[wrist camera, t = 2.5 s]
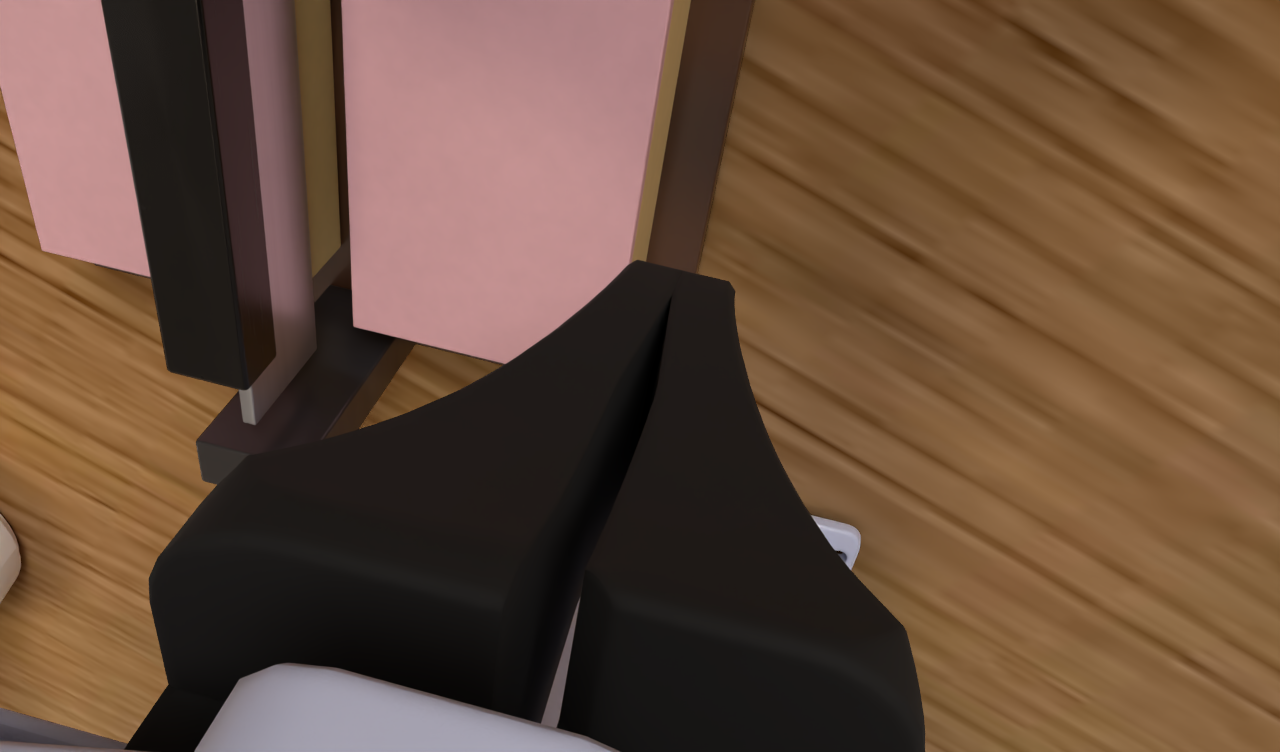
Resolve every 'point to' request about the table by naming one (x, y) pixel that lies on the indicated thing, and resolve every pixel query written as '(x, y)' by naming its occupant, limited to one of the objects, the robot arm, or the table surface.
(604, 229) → the pink sponge pad
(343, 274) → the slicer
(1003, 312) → the table surface
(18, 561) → the cup
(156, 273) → the knife
